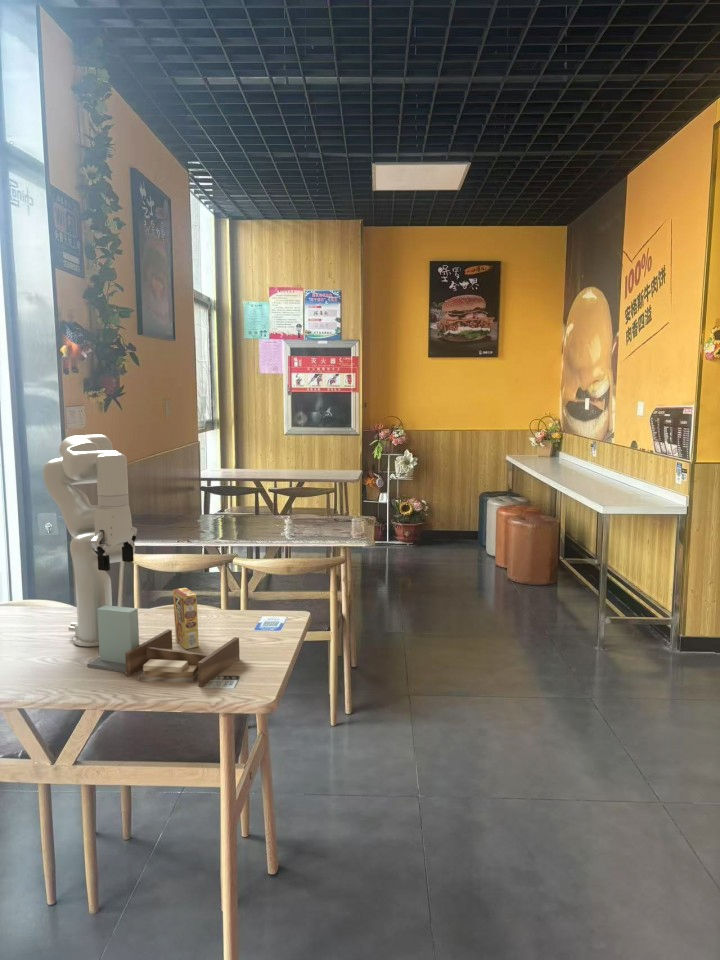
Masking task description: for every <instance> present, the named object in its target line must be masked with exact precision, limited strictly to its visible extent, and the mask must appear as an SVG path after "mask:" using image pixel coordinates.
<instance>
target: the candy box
mask: <svg viewBox="0 0 720 960" xmlns="http://www.w3.org/2000/svg"><path fill="white" fill-rule="evenodd" d="M172 592H173V593H172V594H173V595H172V597H173V615H174V631H175V632H174V633H175V642H177V643H178V644H179V645H181V647H182V648H184V649H185V650H188V649H193V648H198V647H199V623H198V618H199V617H198V600H197V599H198V598H197V594H196V593H195V592H194V591H192V590H190V589H189V588H187V587H182V588H176V589H172Z"/></svg>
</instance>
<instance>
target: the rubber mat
mask: <svg viewBox="0 0 720 960" xmlns="http://www.w3.org/2000/svg"><path fill="white" fill-rule="evenodd" d="M86 665H87V667H88V668H92V667H93V668H94V669H100V670H107V671H114V672H122V673H126V664H125V663H118V662H111V661H103V660H100V656H99V657H97V658H95V659H94V660H91V661H90V662H88V663H87V664H86Z"/></svg>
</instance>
